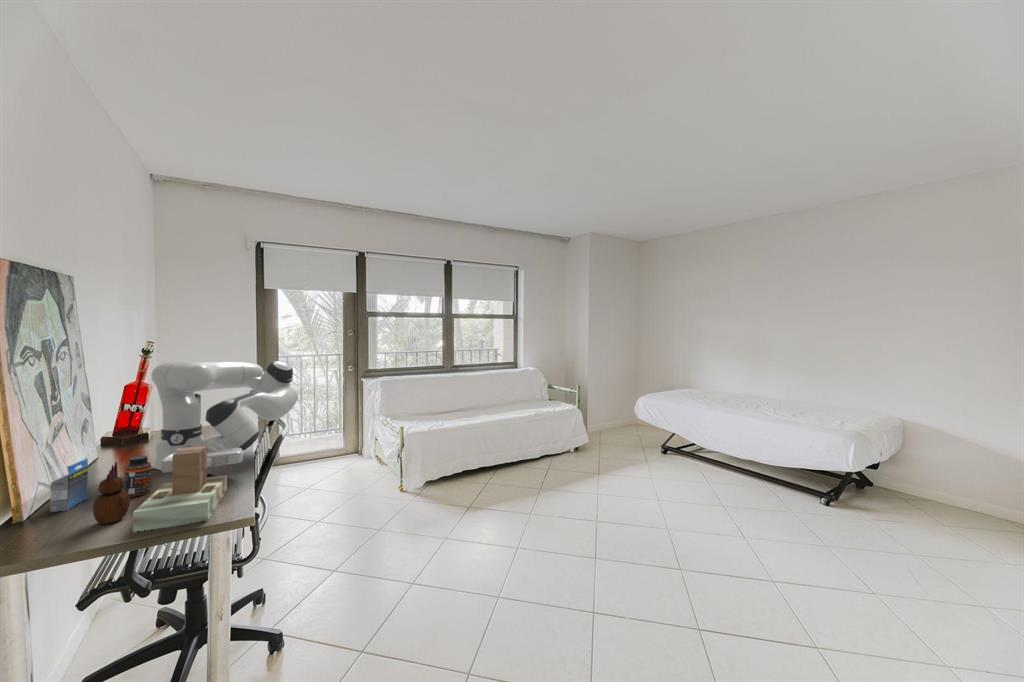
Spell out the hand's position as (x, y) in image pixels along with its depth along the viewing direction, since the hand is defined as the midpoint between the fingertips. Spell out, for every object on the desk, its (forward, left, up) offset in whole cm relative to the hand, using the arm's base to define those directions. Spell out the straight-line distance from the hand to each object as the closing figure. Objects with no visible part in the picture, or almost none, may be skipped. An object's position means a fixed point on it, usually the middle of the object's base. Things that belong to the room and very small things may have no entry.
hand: (197, 466), depth 118 cm
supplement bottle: (-13, -18, -10) cm, 24 cm away
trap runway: (+6, -1, -10) cm, 12 cm away
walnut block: (+4, -1, -5) cm, 6 cm away
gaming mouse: (-12, -1, -11) cm, 16 cm away
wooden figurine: (+8, -16, -10) cm, 21 cm away
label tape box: (-10, -32, -10) cm, 35 cm away
